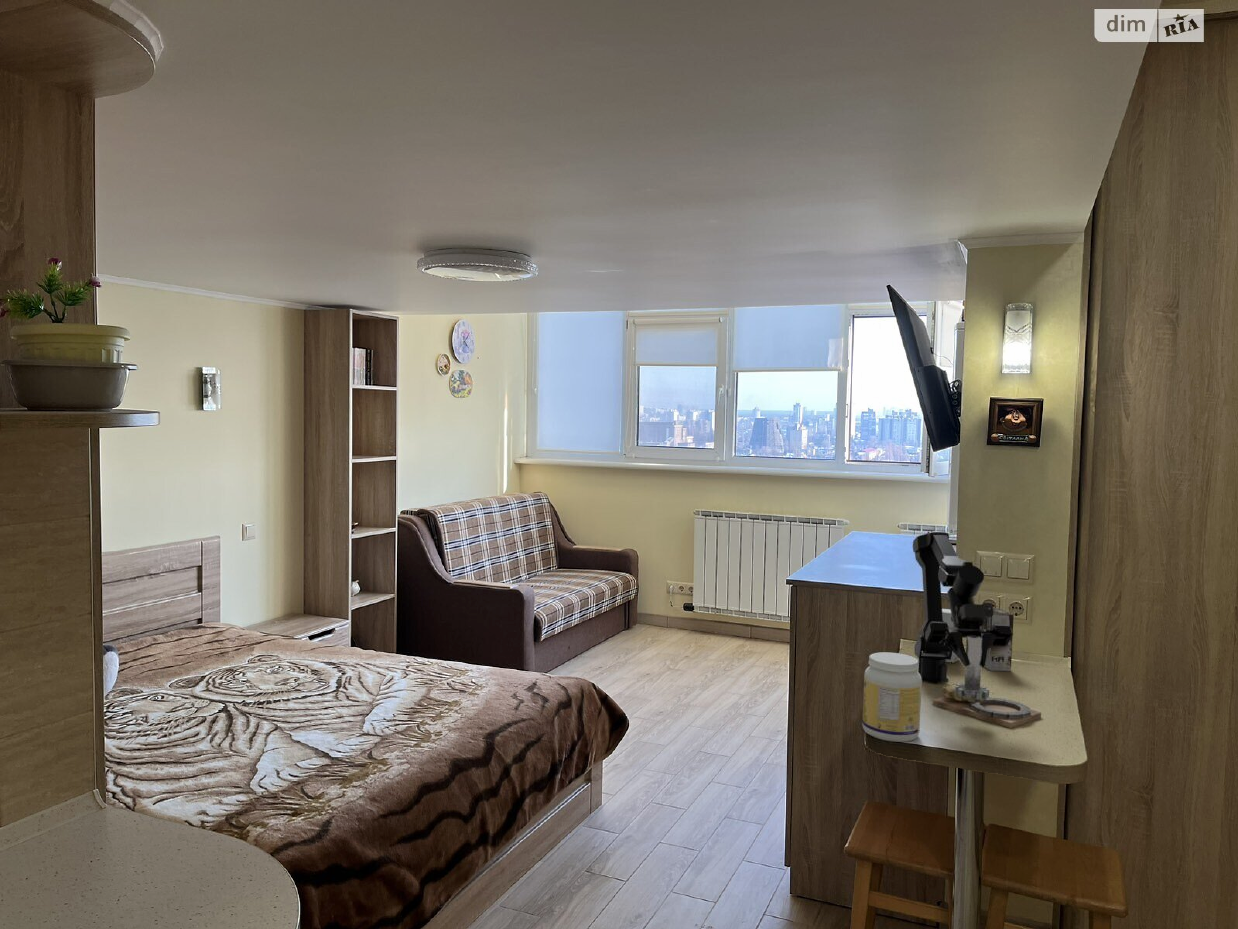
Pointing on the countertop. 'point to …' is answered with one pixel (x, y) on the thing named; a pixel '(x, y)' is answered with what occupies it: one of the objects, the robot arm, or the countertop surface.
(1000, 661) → the coffee box
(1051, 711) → the countertop surface
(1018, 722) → the gear board
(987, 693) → the gear
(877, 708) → the supplement tub
